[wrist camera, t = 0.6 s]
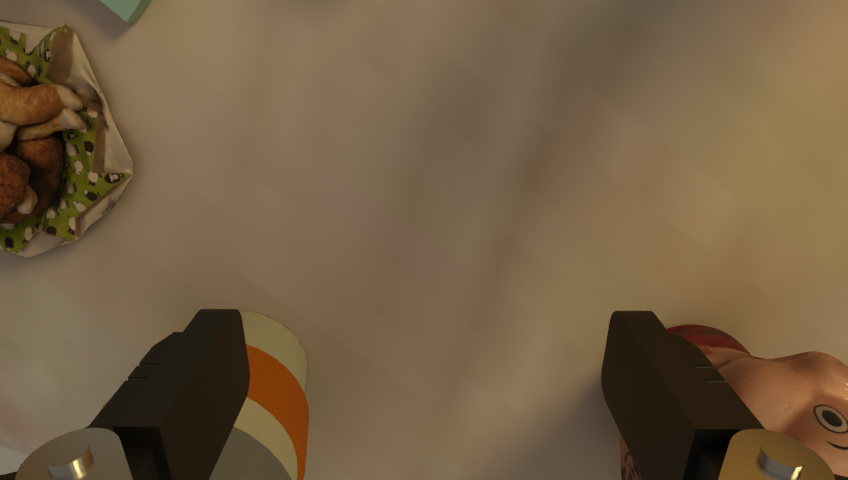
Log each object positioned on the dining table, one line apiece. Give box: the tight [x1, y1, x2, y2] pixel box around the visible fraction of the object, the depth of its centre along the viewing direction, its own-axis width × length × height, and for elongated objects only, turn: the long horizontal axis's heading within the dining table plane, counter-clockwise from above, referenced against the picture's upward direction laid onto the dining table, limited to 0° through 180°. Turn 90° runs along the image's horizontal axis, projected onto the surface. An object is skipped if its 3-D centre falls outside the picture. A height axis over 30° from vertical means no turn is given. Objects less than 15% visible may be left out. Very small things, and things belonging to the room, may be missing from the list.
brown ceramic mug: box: [618, 325, 848, 480], centre depth 35 cm, size 20×12×14 cm, turn 161°
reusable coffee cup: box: [84, 311, 309, 480], centre depth 32 cm, size 13×12×15 cm
